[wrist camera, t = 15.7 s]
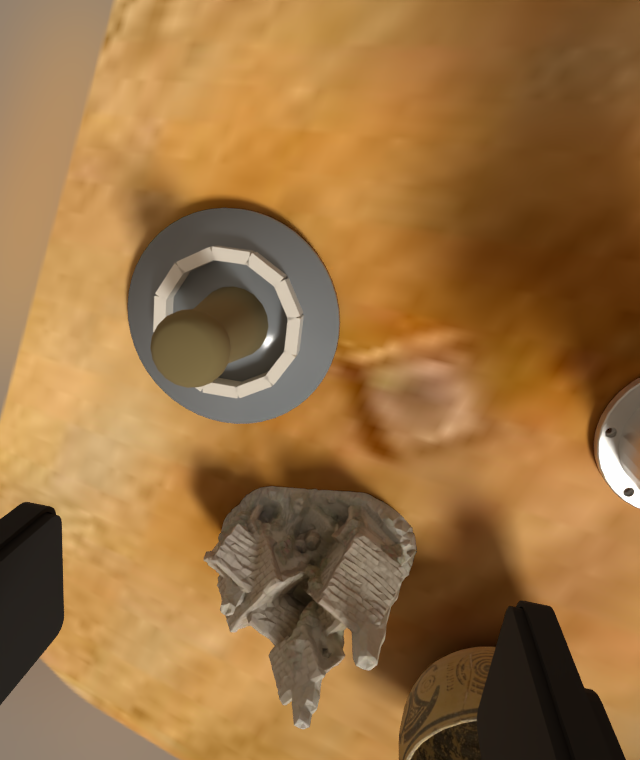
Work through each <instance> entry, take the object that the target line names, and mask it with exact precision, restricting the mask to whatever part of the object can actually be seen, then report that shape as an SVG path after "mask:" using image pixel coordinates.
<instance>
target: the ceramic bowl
mask: <svg viewBox="0 0 640 760" xmlns="http://www.w3.org/2000/svg"><path fill="white" fill-rule="evenodd" d="M495 648H496V647H472V648H467V649H462V650H459V651H456V652H453V653H451V654H449V655H447V656H444V657H443V658H441V659H439V660H437V661H435V662H434V663H433V664H432V665H430V666H429V667H428V668H427V669H426V670H425V671H424V672H423V673H422V674H421V676H420V677H419V679H418V680H417V681H416V683H415V684H414V686H413V688H412V690H411V692H410V694H409V696H408V698H407V701H406V704H405V707H404V712H403V717H402V721H401V726H400V733H399V760H482V759H481V752H480V746H479V739H478V733H477V712H478V707H479V704H480V700H481V697H482V693H483V690H484V686H485V683H486V679H487V676H488V672H489V669H490V665H491V662H492V658H493V655H494V652H495Z"/></svg>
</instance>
